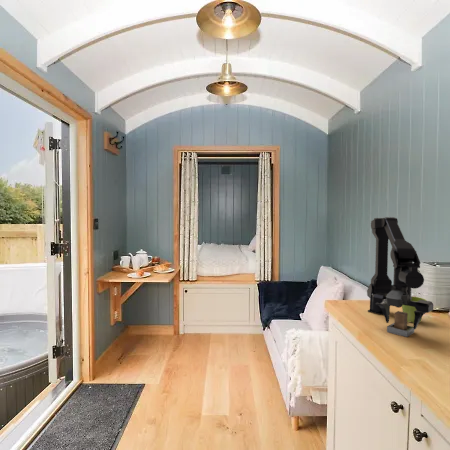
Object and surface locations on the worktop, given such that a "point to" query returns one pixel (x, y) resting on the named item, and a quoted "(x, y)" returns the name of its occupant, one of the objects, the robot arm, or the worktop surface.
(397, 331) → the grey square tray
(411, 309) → the plant pot
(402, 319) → the brown wooden block
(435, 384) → the worktop surface
